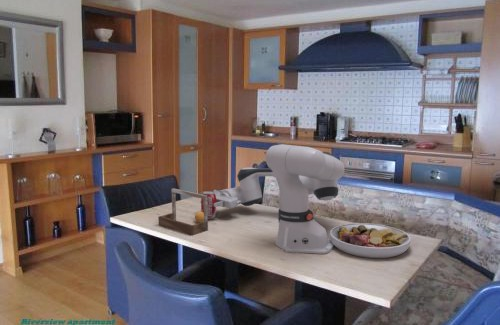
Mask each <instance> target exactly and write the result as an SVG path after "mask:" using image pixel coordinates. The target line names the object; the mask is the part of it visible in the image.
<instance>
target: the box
mask: <svg viewBox="0 0 500 325" xmlns="http://www.w3.org/2000/svg"><path fill="white" fill-rule="evenodd" d="M176 194H179V195H184V196H189V197H193V198H198V199H200V200H201V199H203V207H204V221H203V222H197V223H194V224H189V223H187V222H183V221H178V220H177V201H176ZM171 208H172V209H171V213H166V214H164V215H159V216H158V217H157V218H158V219H157V220H158V226H160V227H163V228H167V229H170V230H174V231H176V232H180V233H183V234H186V235H189V236H195V235H197V234H201V233H203V232H204V233H205V232H206V231H209V223H208V222H209V221H208V209H207V195H203V193H196V192H193V191H188V190H183V189H178V188H171Z"/></svg>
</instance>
